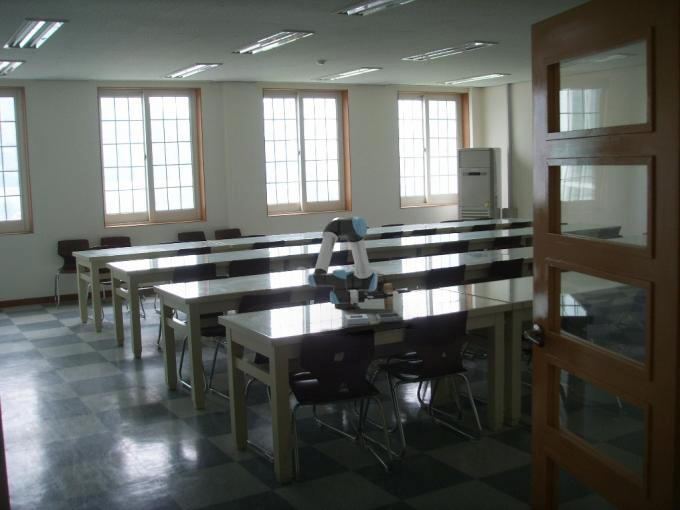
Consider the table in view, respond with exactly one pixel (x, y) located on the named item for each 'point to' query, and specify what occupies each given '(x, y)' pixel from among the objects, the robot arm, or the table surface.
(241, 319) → the table surface
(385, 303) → the dowel
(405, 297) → the table surface
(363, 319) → the socket block
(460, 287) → the table surface
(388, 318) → the tray
